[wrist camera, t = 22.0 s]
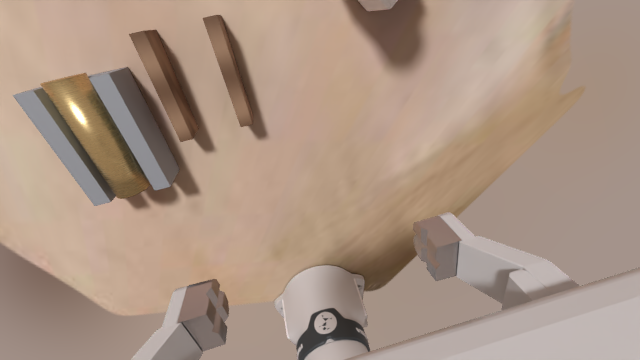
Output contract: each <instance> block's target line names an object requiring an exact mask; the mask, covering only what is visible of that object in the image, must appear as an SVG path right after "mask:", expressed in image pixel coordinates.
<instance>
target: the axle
mask: <svg viewBox="0 0 640 360" xmlns="http://www.w3.org/2000/svg"><path fill="white" fill-rule="evenodd" d="M41 86H42V87H43V89H44V90H45V92H46V93H47V95H48V96H49V98H50V99H51V101H52V102H53V104H54V105H55V107H56V108H57V110H58V111H59V112H60V114H61V115H62V117H63V118H64V120H65V121H66V123H67V124H68V126H69V127H70V129H71V130H72V132H73V133H74V135H75V136H76V138H77V139H78V141H79V142H80V144H81V145H82V146H83V148H84V149H85V151H86V152H87V154H88V155H89V157H90V158H91V160H92V161H93V163H94V164H95V166H96V167H97V169H98V170H99V172H100V173H101V175H102V176H103V177H104V179H105V180H106V182H107V183H108V185H109V186H110V188H111V189H112V191H113V192H114V194H115V195H116V197H117V198H120V199H123V198H128V197H131V196H134V195H136V194H138V193H140V192H142V191H144V190H145V189H146V188H147V187H148V186H149V185H150V182H149V180H148V178H147V177H146V175H145V173H144V172H143V170H142V168H141V166H140V165H139V163H138V161H137V160H136V158H135V156H134V154H133V153H132V151H131V149H130V148H129V146H128V144H127V142H126V141H125V139H124V137H123V136H122V134H121V132H120V131H119V129H118V127H117V125H116V124H115V122H114V120H113V119H112V117H111V115H110V113H109V112H108V110H107V108H106V107H105V105H104V103H103V101H102V100H101V98H100V96H99V95H98V93H97V91H96V90H95V88H94V86H93V84H92V83H91V81H90V79H89V78H88V76H87V74H86V73H82V74H77V75H73V76H68V77H64V78H60V79H56V80H52V81H48V82H44V83H41Z"/></svg>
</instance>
